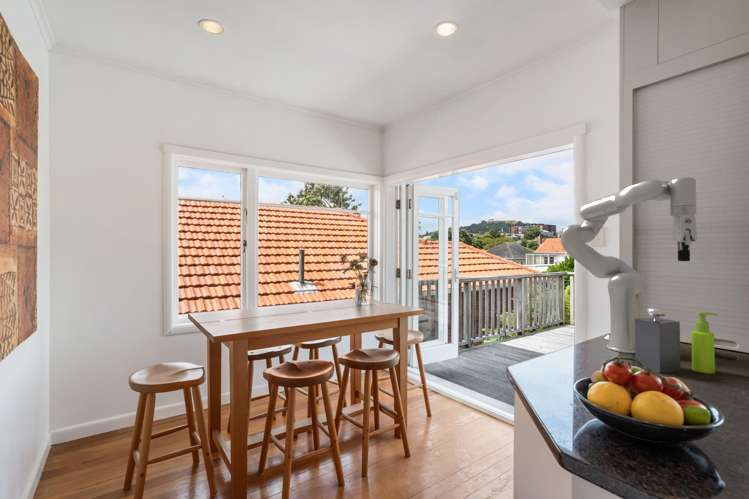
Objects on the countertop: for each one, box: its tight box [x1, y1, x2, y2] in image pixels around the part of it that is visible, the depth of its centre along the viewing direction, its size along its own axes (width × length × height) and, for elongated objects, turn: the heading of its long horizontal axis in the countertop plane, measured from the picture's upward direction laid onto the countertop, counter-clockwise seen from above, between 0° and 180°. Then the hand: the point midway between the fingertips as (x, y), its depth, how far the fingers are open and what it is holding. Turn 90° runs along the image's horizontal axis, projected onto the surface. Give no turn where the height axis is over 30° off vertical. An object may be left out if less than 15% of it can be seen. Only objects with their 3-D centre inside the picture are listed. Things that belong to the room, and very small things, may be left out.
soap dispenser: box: [691, 311, 718, 374], centre depth 128 cm, size 6×7×20 cm
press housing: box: [634, 316, 681, 373], centre depth 132 cm, size 9×9×17 cm
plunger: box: [646, 307, 667, 321], centre depth 132 cm, size 6×6×19 cm
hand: (683, 260), depth 139 cm, fingers closed
